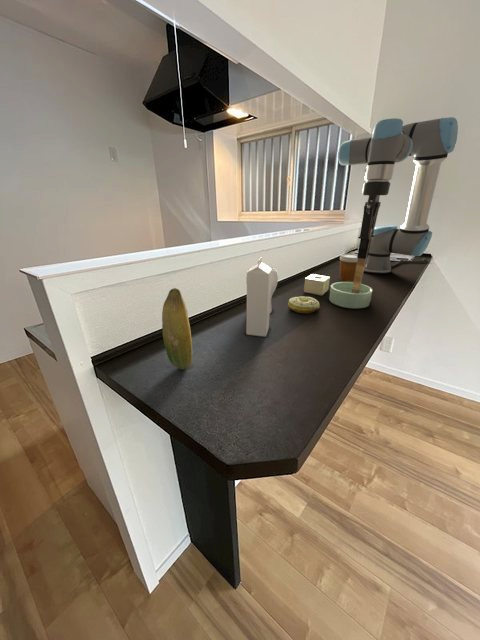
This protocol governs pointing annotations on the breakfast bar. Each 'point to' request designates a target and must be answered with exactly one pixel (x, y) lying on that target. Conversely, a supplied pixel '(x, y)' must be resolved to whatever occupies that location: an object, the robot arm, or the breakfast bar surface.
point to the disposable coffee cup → (348, 267)
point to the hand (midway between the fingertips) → (362, 257)
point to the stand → (316, 284)
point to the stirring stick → (359, 273)
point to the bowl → (350, 295)
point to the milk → (258, 299)
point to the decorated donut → (303, 304)
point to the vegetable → (177, 330)
